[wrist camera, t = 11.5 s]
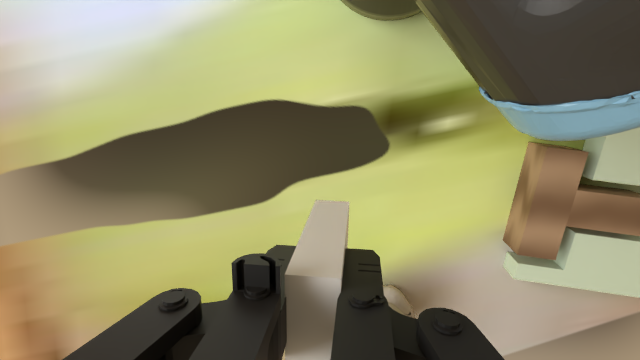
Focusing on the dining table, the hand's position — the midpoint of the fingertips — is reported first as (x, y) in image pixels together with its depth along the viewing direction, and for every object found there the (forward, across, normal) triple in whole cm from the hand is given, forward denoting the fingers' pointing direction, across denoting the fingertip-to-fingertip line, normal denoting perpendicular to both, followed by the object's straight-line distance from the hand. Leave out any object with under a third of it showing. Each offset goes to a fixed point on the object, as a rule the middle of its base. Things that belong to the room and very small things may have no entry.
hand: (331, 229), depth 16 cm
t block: (+27, +25, -6) cm, 37 cm away
